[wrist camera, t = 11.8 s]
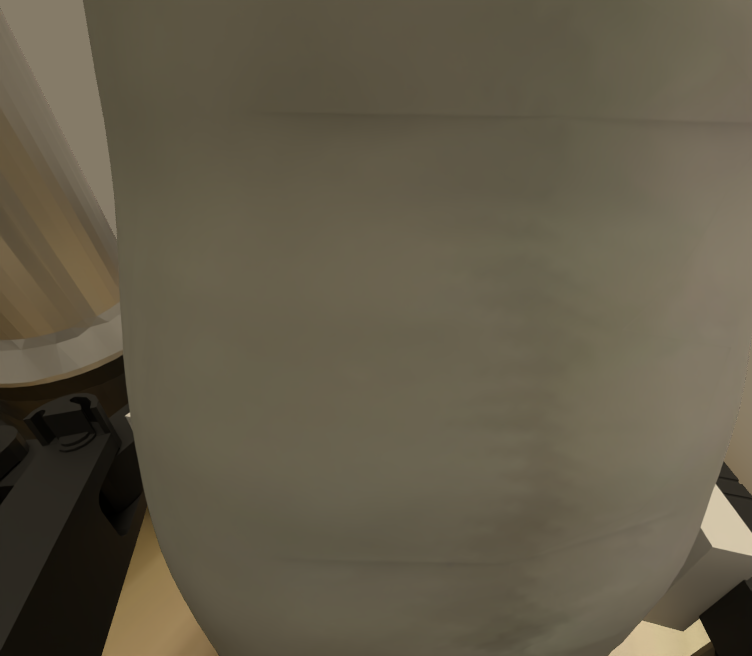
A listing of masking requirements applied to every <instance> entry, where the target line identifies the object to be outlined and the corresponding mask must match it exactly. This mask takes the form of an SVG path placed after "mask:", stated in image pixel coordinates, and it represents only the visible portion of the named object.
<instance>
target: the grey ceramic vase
mask: <svg viewBox="0 0 752 656" xmlns="http://www.w3.org/2000/svg"><path fill="white" fill-rule="evenodd" d="M83 3H84V9H85V15H86V21H87V27H88V33H89V38H90V45H91V50H92V57H93V62H94V68H95V74H96V80H97V85H98V90H99V96H100V100H101V106H102V112H103V117H104V122H105V129H106V136H107V143H108V150H109V156H110V163H111V172H112V181H113V190H114V199H115V213H116V228H117V246H118V264H119V291H120V310H121V324H122V339H123V359H124V369H125V378H126V387H127V395H128V402H129V410H130V417H131V423H132V429H133V435H134V441H135V447H136V452H137V457H138V462H139V468H140V473H141V478H142V483H143V488H144V492H145V497H146V501H147V505H148V509H149V512H150V516H151V520H152V524H153V527H154V530H155V533H156V536H157V539H158V542H159V546H160V549H161V552H162V554H163V556H164V559H165V561H166V563H167V566H168V568H169V570H170V573H171V575H172V577H173V579H174V581H175V583H176V585H177V587H178V589H179V590H180V592H181V594H182V596H183V598H184V600H185V602H186V603H187V605H188V607H189V608H190V610H191V612H192V614H193V615H194V617H195V619H196V621H197V622H198V624H199V625H200V627H201V628H202V630H203V632H204V633H205V635H206V636H207V638H208V639H209V641H210V642H211V644H212V645H213V647H214V648H215V650H216V651H217V653H218V655H219V656H608V655H609V654H610V653H611V652H612V650H614V649H615V648H616V647H617V646H619V645H620V644H621V643H622V642H623V641H624V640H625V639H626V638H627V636H628V635H629V634H630V633H631V632H632V631H633V630H634V628H635V627H636V626H637V625H638V624H639V623H640V622H641V621H642V620H643V619H644V617H645V616H646V615H647V614H648V613H649V612H650V611H651V609H652V608H653V607H654V606H655V605H656V604H657V603H658V601H659V600H660V599H661V598H662V597H663V596H664V594H665V593H666V592H667V590H668V589H669V587H670V585H671V584H672V582H673V581H674V579H675V578H676V576H677V575H678V573H679V571H680V570H681V568H682V567H683V565H684V563H685V561H686V559H687V557H688V555H689V553H690V551H691V549H692V546H693V544H694V542H695V540H696V538H697V536H698V533H699V530H700V527H701V524H702V521H703V519H704V516H705V513H706V510H707V507H708V504H709V501H710V497H711V494H712V492H713V489H714V487H715V484H716V482H717V479H718V476H719V473H720V470H721V467H722V464H723V461H724V458H725V455H726V452H727V449H728V446H729V443H730V439H731V436H732V432H733V429H734V426H735V423H736V420H737V416H738V413H739V409H740V404H741V399H742V394H743V388H744V384H745V380H746V372H747V365H748V358H749V350H750V344H751V339H752V0H83Z"/></svg>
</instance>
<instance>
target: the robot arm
mask: <svg viewBox="0 0 752 656" xmlns="http://www.w3.org/2000/svg"><path fill="white" fill-rule="evenodd" d="M738 481H739V480H738V478H737V477H736V476H735V475H734V474H733V472H732V471H731V470H730V469H729V467H728V466H727V465H726V464H725V462H724V461H723V464H722V467H721V470H720V473H719V476H718V479H717V482H716V484H715V487H714V489H713V492H712V494H711V497H710V501H709V504H708V507H707V510H706V513H705V516H704V519H703V521H702V524H701V527H700V530H699V533H698V536H697V538H696V540H695V542H694V544H693V546H692V549H691V551H690V553H689V555H688V557H687V559H686V561H685V563H684V565H683V567H682V568H681V570H680V571H679V573H678V575H677V576H676V578H675V579H674V581H673V582H672V584H671V585H670V587H669V589H668V590H667V592H666V593H665V594H664V596H663V597H662V598H661V599H660V600H659V601H658V603H657V604H656V605H655V606H654V607H653V608H652V609H651V611H650V612H649V613H648V614H647V615H646V616H645V617H644V619H643V621H647V622H650V623H654V624H658V625H661V626H665V627H669V628H672V629H676V630H680V631H684V630H686V629H687V628H688V627H689V626H691V625H692V624H693V623H694V622H696V621H697V620H698V619H699V618H700V620H701V622H702V624H703V626H704V628H705V630H706V632H707V634H708V636H709V638H710V640H711V642H709V643H708V644H706V645H705V646H703V647H702V648H701V649H699V650H698V651H696V652H695V653H693V654H692V655H691V656H752V495H751V494H750V493H749V492H748V491H747V489H746V488H745V487H744V486H743V485H742V484H739V482H738ZM146 508H147V501H146V497H145V492H144V488H143V483H142V478H141V473H140V468H139V462H138V457H137V452H136V447H135V441H134V435H133V429H132V423H131V417H130V410H129V402H128V395H127V387H126V378H125V369H124V359H123V339H122V324H121V310H120V291H119V264H118V246H117V239H116V237H115V235H114V234H113V231H112V229H111V228H110V226H109V224H108V222H107V219H106V218H105V216H104V214H103V212H102V210H101V208H100V206H99V204H98V202H97V200H96V198H95V196H94V194H93V192H92V190H91V188H90V186H89V184H88V182H87V180H86V178H85V176H84V174H83V172H82V170H81V168H80V166H79V164H78V162H77V160H76V158H75V156H74V154H73V152H72V150H71V148H70V146H69V144H68V142H67V140H66V138H65V136H64V134H63V132H62V130H61V128H60V126H59V124H58V122H57V120H56V118H55V116H54V114H53V112H52V110H51V108H50V106H49V104H48V102H47V100H46V98H45V96H44V94H43V92H42V90H41V88H40V86H39V84H38V82H37V80H36V78H35V76H34V74H33V72H32V70H31V68H30V66H29V64H28V62H27V61H26V59H25V56H24V54H23V52H22V50H21V48H20V46H19V44H18V43H17V41H16V38H15V36H14V35H13V32H12V30H11V28H10V26H9V25H8V23H7V21H6V18H5V17H4V14H3V12H2V10H1V8H0V656H101V655H102V652H103V649H104V646H105V642H106V639H107V636H108V632H109V629H110V626H111V623H112V619H113V616H114V613H115V610H116V606H117V603H118V600H119V597H120V593H121V590H122V587H123V584H124V580H125V577H126V574H127V570H128V567H129V564H130V561H131V557H132V554H133V551H134V548H135V544H136V541H137V538H138V535H139V531H140V528H141V525H142V521H143V518H144V515H145V512H146Z"/></svg>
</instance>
